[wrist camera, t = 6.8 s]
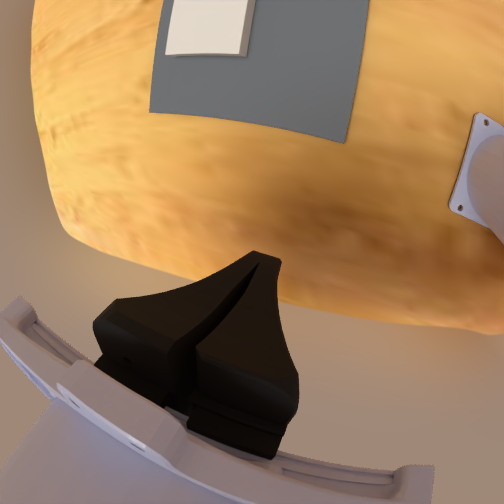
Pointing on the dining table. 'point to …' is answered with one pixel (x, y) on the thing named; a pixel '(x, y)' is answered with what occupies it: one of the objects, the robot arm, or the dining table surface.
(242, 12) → the tile
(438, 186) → the dining table surface
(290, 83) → the mat
